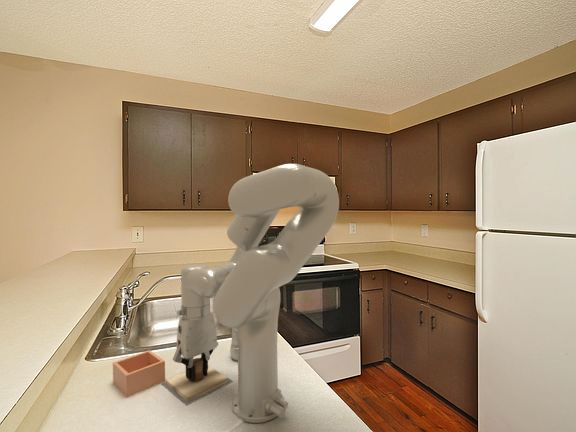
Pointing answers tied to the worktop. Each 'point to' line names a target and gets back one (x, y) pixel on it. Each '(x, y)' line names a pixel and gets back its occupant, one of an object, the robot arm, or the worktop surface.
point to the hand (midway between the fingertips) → (197, 376)
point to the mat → (195, 398)
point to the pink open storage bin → (138, 372)
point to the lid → (196, 381)
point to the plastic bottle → (234, 344)
